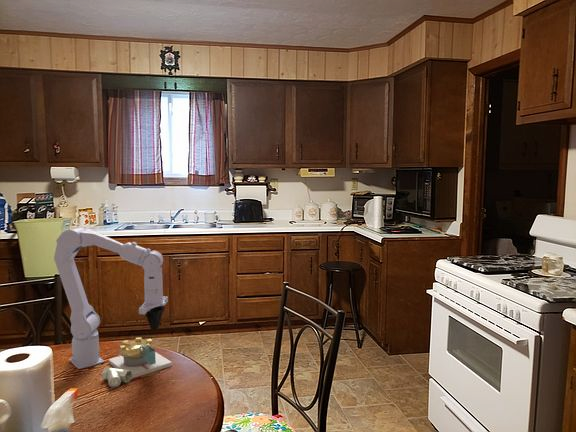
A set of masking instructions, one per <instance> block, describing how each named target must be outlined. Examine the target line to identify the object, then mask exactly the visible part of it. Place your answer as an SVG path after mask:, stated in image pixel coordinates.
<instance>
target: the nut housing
mask: <svg viewBox="0 0 576 432" xmlns="http://www.w3.org/2000/svg"><path fill="white" fill-rule="evenodd" d="M155 359H156V364H152V365H150V364H149V363H148V362H146V361H145V360H144V359H143V357H138V358H126V357H122V356H121V355H119V356H116V357H112V358H109V359H108V364H109V365H111V366H112V368H115V369H122V370H131V371H132V378H131V380H132V379H134V378H138V377H141V376H143V375H147V374H151V373H154V372H157V371H161V370H162V369H166V368H170V367H172V366H173V362H172V361H171V360H169V359H167V358H166V357H165V356H163V355H161V354H160V353H158V352H156V351H155Z"/></svg>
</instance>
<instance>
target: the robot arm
mask: <svg viewBox="0 0 576 432" xmlns="http://www.w3.org/2000/svg"><path fill="white" fill-rule="evenodd" d="M55 241H56V247H55V252H54V255H53V261H54V262H55V263H54V264H55V266H56V269H57V271H58V275H59V277H60V281H61V284H62V286H63V289H64V292H65V295H66V298H67V301H68V304H69V307H70V310H71V313H70V317H69V320H70V324H71V326H70V333H71V334H72V335H71V336H72V339H71V352H72V353H71V354H72V355H71V356H72V358H69V360H68V361H69V362H70V363H71V364H73V365H74V366H75V367H76V368H77V369H78V370H81V369H85V368H88V367H92V366H96V365H99V364H102V363H105V361H104V359H103V358H101V357H100V343H99V341H100V340H99V332H98V327H99V326H100V324H101V319H100V316H99V314H98V313H97V312H96V311H95V310H94V309H95V308H94V307H93V306H92V305H91V304H90V303H89V301H88V298H87V293H86V292H85V289H84V285H83V282H82V280H81V276H80V273H79V271H78V267H77V265H76V261H75V257H76V256H77V254H78V253H79V251H80V250H81V249H82V248H85V247H90V246H96V247H99V248H102V249H105V250H107V251H111V252H113V253H117V254H118V255H119V256H120V259H122V260H123V261H124V260H125V261H126V262H129V263H131V264H134V265H136V266H141V268H143V270H144V272H143V273H144V275H143V278H144V279H143V283H144V286H143V287H144V302H143V304H142V305H140V307H139V308H138V314H139V315H145V317H146V320H147V322H148V325H149V328H150V331H157V330H159V327H160V324H161V319H162V316H163V313H164V312H165V310H166V307H165V306H166V305H167V303H168V302H169V297H168V295H167V296H165V295H164V288H163V287H164V286H163V283H164V282H163V268H162V265H163V264H164V257H163V254H162V253H161V252H160V251H157V250H156V249H155V250H154V249H153V250H151V248H149V247H148V248H145V247H142V246H140V245H138V244H137V242H135V241H132V242H131V241H130V242H126V243H122V242H119V241H118V240H115V239H113V238H111V237H109V236H106V235H104V234H101V233H100V232H97V231H94V230H93V229H90V228H86V227H84V226H76V227H74V228H71V229H66V230H64V231H63V232H61V233H60V235H59V236H58V238H57V239H56V240H55Z"/></svg>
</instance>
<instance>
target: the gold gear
mask: <svg viewBox="0 0 576 432" xmlns="http://www.w3.org/2000/svg"><path fill="white" fill-rule="evenodd" d="M153 342H154V341H153V339H151V338H148V339H143V337H135V339H134V340H127V339H126V340H123V341H121V345H119V356H122V357H126V358H138V357H143V359H144V360H145V361H146V362H148V363H149V364H150V365H152V364H156V359H155V352H156V350H155V349H154V343H153Z"/></svg>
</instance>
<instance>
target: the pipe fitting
mask: <svg viewBox="0 0 576 432" xmlns="http://www.w3.org/2000/svg"><path fill="white" fill-rule="evenodd" d="M101 377H102V380H107V382H108V386H109V387H110V388H117V387H119V386H120V385H121V383H129V382H130V381H131V380H132V379H133V378H132V371H131V370H122V369H116V368H115V367H110V366H104V368H103V370H102V372H101ZM131 378H132V379H131Z"/></svg>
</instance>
